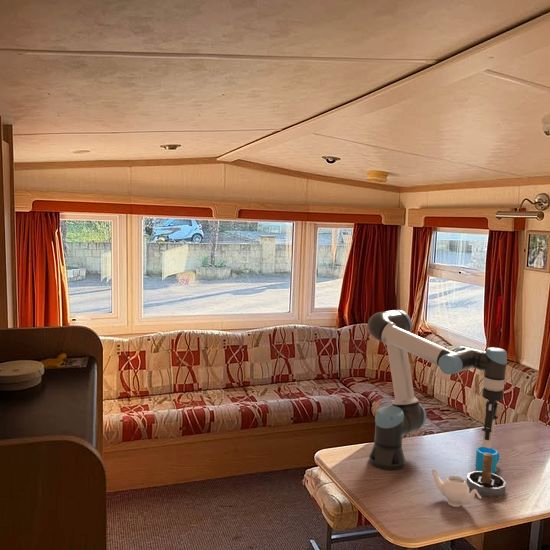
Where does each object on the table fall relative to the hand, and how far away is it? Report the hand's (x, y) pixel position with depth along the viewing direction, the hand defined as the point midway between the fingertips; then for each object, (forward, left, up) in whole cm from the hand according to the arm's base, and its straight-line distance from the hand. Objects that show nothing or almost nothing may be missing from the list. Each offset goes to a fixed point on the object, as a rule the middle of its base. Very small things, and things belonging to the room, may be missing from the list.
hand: (488, 440), depth 209 cm
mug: (-1, +19, -20) cm, 27 cm away
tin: (0, 0, -19) cm, 19 cm away
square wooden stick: (0, 0, -18) cm, 18 cm away
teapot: (-8, -19, -20) cm, 28 cm away
